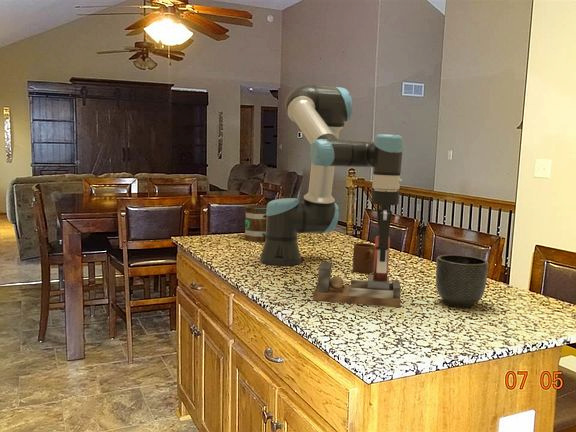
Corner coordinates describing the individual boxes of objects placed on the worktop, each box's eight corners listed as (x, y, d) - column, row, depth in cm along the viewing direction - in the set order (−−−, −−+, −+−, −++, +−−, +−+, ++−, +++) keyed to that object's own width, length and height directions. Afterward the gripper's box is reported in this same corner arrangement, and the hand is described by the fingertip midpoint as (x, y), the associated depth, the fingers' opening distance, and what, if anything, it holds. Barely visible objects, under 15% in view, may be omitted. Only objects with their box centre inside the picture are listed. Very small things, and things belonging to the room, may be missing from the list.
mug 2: (382, 276, 182) (384, 249, 181) (361, 277, 181) (362, 249, 179) (369, 268, 194) (370, 243, 193) (349, 269, 192) (350, 243, 191)
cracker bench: (313, 300, 151) (314, 268, 150) (317, 289, 163) (318, 260, 162) (399, 307, 148) (402, 275, 146) (397, 295, 159) (399, 265, 158)
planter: (478, 314, 144) (482, 267, 142) (427, 304, 151) (430, 259, 149) (489, 302, 156) (493, 258, 154) (441, 294, 163) (444, 252, 161)
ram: (367, 294, 151) (370, 238, 149) (367, 287, 158) (370, 234, 156) (388, 296, 150) (392, 239, 148) (387, 289, 157) (391, 235, 155)
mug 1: (238, 237, 248) (239, 205, 246) (264, 236, 255) (265, 204, 253) (257, 245, 231) (258, 210, 229) (284, 243, 238) (286, 210, 236)
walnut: (327, 289, 156) (326, 276, 155) (336, 287, 159) (336, 273, 158) (337, 292, 153) (336, 278, 152) (346, 289, 156) (346, 275, 155)
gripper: (401, 194, 139) (396, 278, 142) (397, 188, 161) (392, 261, 163) (372, 192, 140) (367, 276, 143) (372, 186, 162) (367, 260, 165)
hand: (381, 268), depth 153 cm, fingers open, 9 cm apart
